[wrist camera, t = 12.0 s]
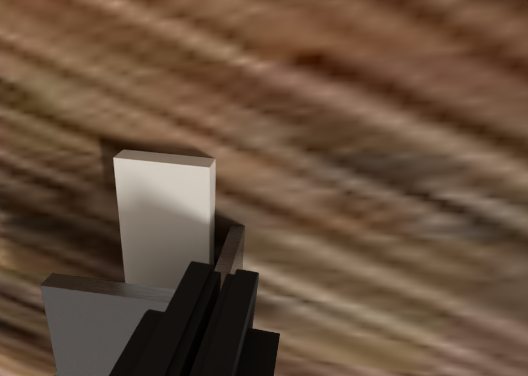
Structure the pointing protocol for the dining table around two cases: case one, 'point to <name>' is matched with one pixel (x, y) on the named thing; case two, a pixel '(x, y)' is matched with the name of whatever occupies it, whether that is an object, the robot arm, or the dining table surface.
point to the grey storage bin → (109, 313)
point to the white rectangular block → (164, 215)
